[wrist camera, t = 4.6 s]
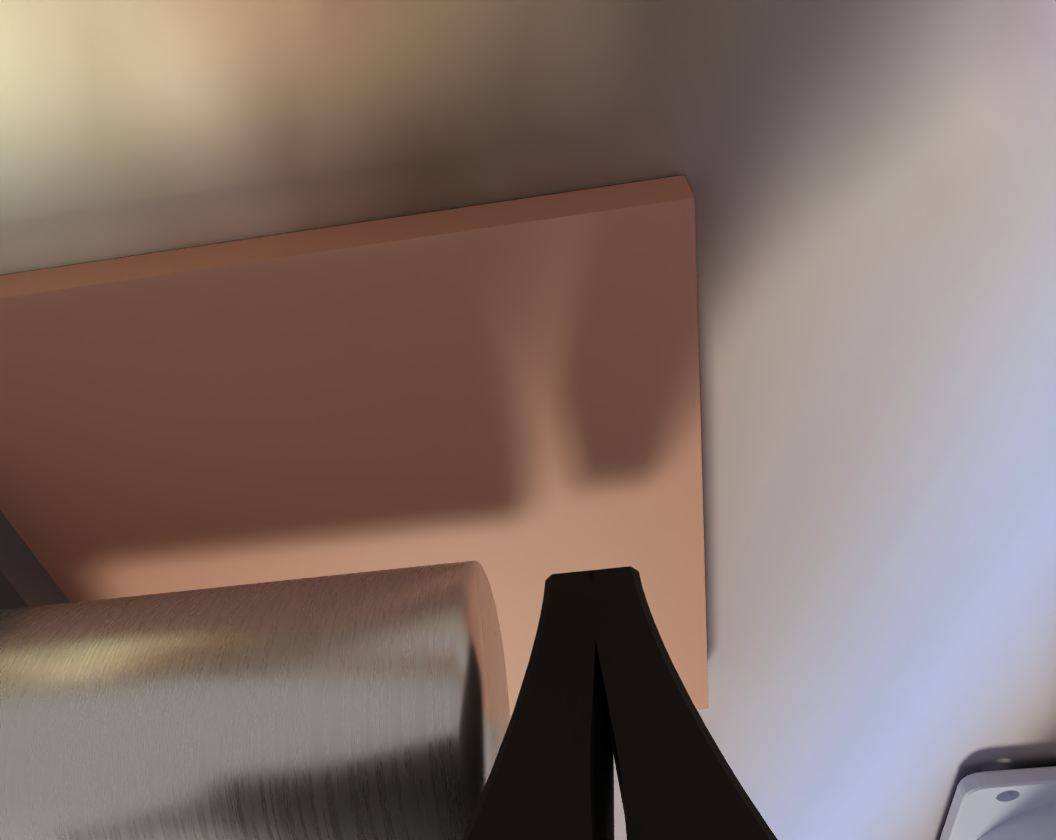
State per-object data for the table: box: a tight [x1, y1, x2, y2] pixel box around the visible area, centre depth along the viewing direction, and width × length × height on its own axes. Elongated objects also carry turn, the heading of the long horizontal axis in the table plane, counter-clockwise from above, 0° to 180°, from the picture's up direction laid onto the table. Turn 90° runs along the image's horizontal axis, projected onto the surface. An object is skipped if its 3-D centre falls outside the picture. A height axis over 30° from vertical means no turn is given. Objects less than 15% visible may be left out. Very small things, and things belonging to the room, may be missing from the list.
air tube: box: [0, 561, 510, 840], centre depth 11 cm, size 14×4×4 cm, turn 99°
